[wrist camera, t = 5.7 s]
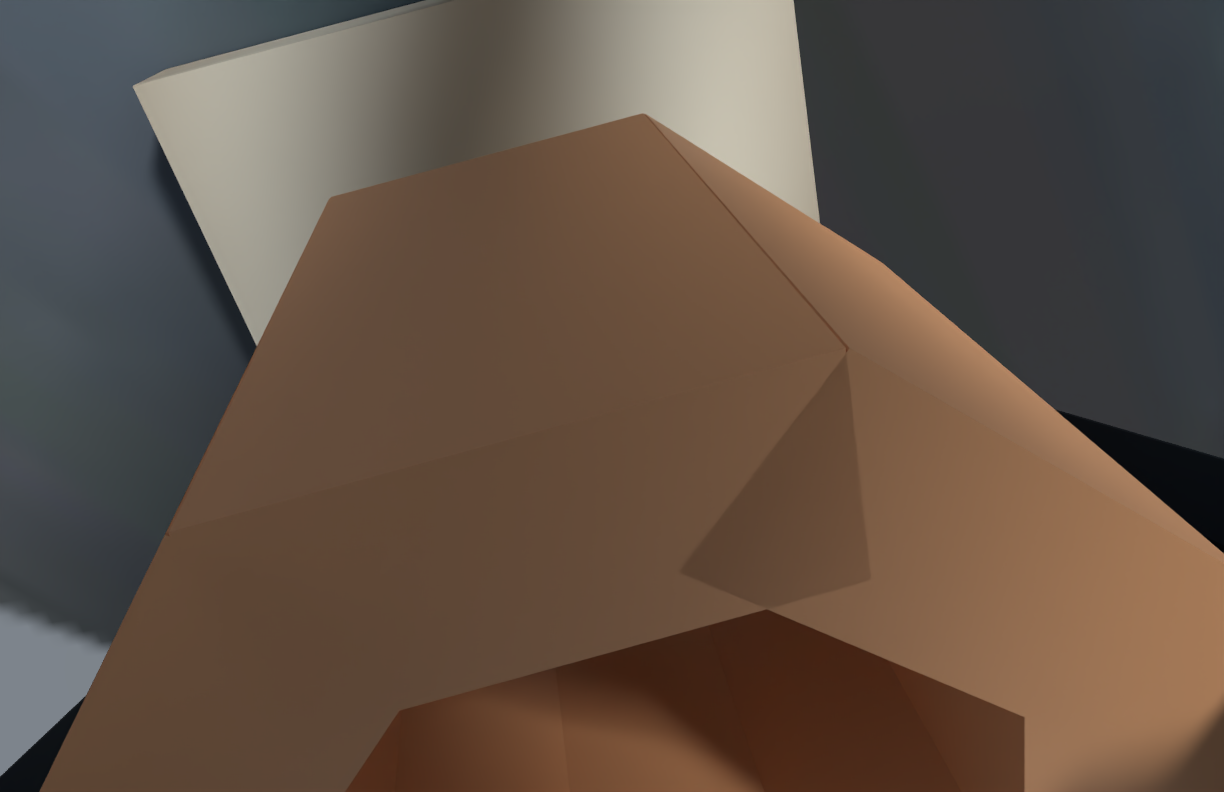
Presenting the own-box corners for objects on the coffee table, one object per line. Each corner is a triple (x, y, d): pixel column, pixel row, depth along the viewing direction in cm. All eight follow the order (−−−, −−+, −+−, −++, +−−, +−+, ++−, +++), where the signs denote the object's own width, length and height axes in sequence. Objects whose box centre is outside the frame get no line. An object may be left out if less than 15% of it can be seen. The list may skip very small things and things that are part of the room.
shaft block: (752, -87, 13) (960, -89, 8) (820, 416, 18) (984, 651, 12) (165, 69, 13) (-60, 184, 8) (378, 537, 18) (335, 831, 12)
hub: (864, 53, 8) (1321, 216, 4) (911, 618, 12) (1179, 1044, 7) (106, 257, 8) (-326, 667, 4) (381, 765, 11) (326, 1286, 7)
